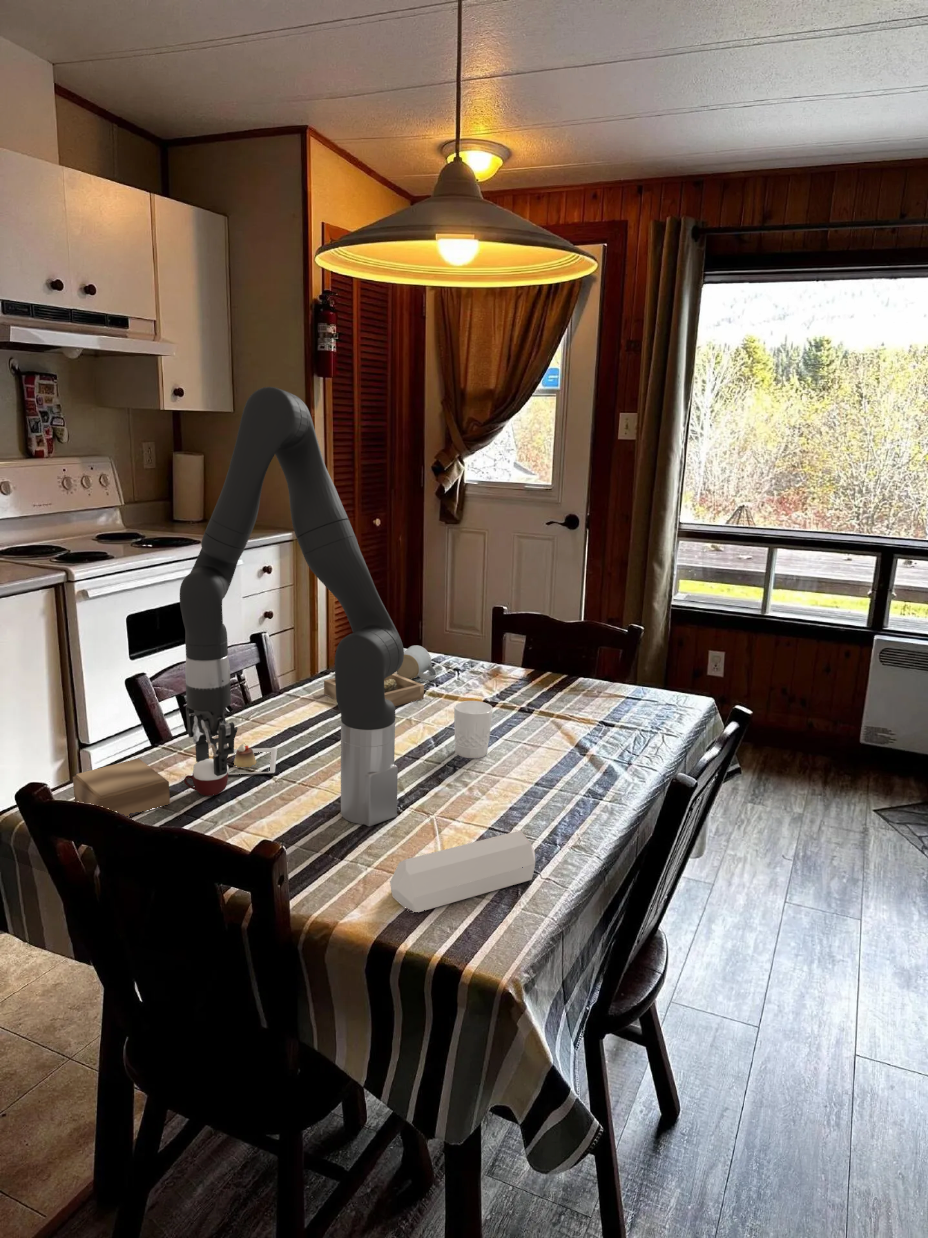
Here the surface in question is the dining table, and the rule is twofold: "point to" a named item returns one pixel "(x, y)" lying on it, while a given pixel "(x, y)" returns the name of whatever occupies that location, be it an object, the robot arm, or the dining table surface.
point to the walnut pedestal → (123, 787)
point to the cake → (390, 685)
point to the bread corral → (404, 694)
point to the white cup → (472, 728)
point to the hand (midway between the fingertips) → (211, 767)
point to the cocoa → (208, 777)
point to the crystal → (463, 871)
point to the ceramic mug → (416, 664)
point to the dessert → (252, 758)
